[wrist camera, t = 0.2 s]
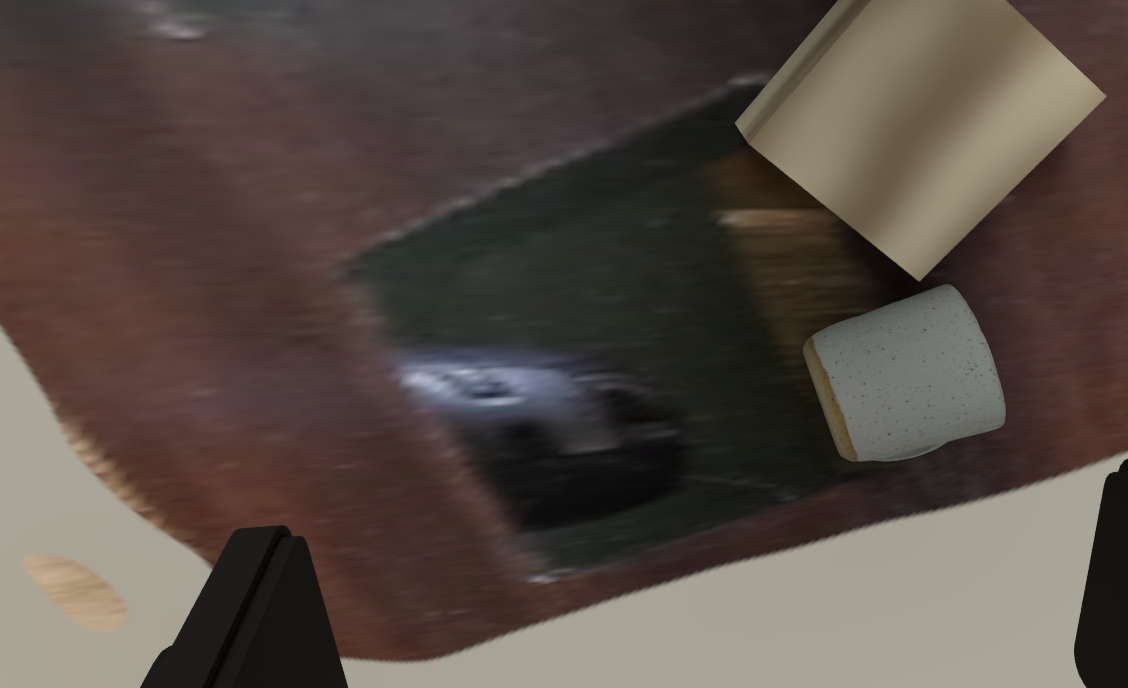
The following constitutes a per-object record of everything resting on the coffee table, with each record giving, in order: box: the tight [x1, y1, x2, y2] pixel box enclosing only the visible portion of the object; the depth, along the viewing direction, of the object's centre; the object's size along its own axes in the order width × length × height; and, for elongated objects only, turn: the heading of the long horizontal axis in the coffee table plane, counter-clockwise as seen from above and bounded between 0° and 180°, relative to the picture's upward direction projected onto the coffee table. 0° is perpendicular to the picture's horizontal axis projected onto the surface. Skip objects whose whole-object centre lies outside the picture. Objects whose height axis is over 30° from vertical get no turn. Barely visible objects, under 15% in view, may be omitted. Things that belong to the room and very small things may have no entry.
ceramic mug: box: [803, 284, 1006, 462], centre depth 48 cm, size 11×8×8 cm
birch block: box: [735, 0, 1107, 281], centre depth 43 cm, size 11×11×4 cm
